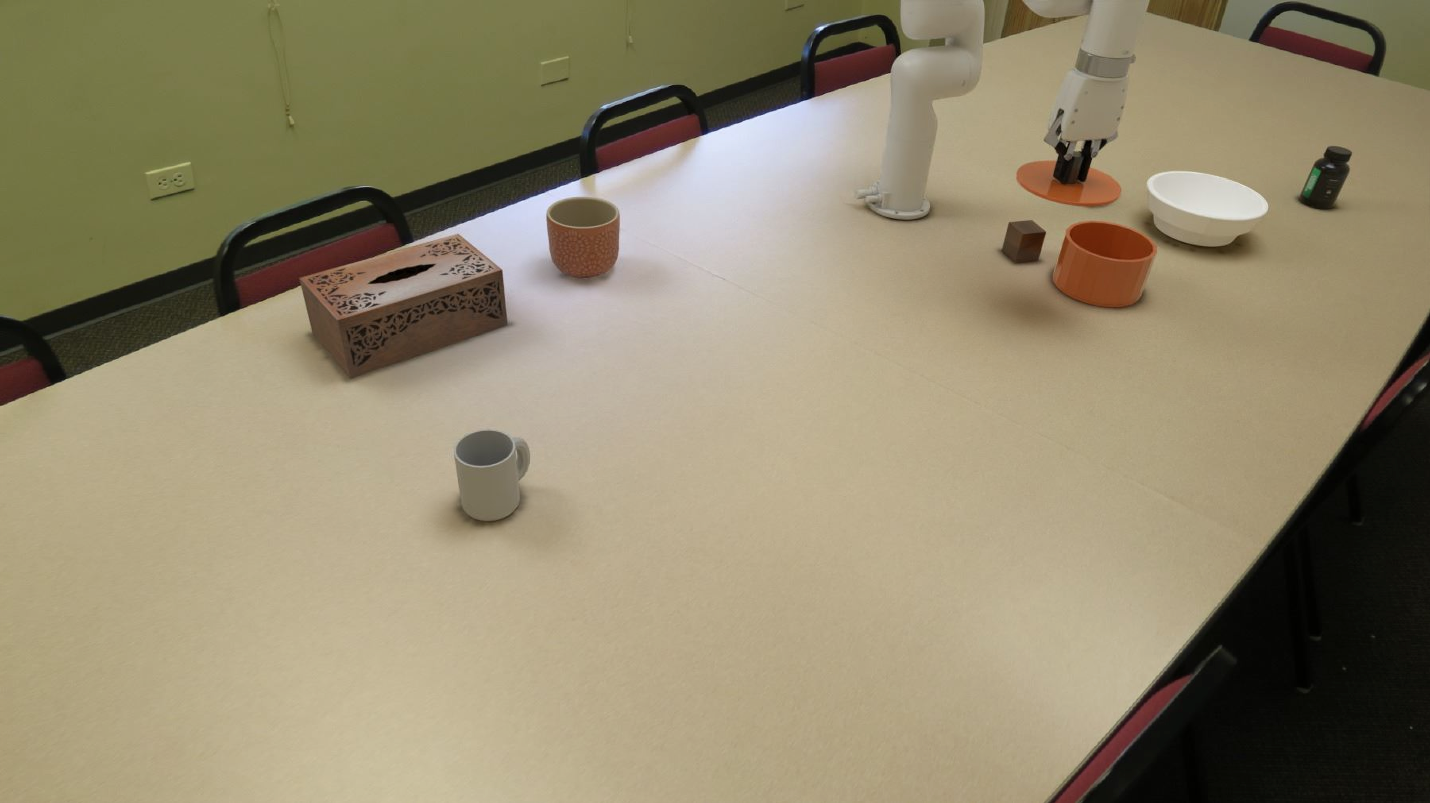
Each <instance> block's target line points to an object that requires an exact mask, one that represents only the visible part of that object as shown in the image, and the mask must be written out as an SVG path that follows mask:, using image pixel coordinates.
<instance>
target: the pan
mask: <svg viewBox="0 0 1430 803" xmlns="http://www.w3.org/2000/svg"><path fill="white" fill-rule="evenodd" d="M1157 254H1158V247H1157V245H1156V243H1155V242H1154V240H1152V238H1150V237H1149V236H1148V235H1146V234H1144V233H1143V232H1141V231H1139V230H1137V229H1134V228H1132V227H1129V226H1126V225H1123V224H1120V223H1115V222H1110V221H1102V220H1086V221H1085V220H1084V221H1078V222H1075V223H1072V224H1070V225H1069V226H1068V227H1067V228H1066V229H1065V232H1064V236H1063V238H1062V242H1061V246H1060V248H1059V252H1058V255H1057V258H1056V262H1055V266H1054V269H1053V272H1052V273H1053V274H1052V281H1053V283H1054V285H1055V286H1056V288H1057V289H1058V290H1060V291H1061V292H1062V293H1063V294H1064V295H1066V296H1068V297H1070V298H1072V299H1074V300H1077V301H1080V302H1082V303H1085V304H1088V305H1092V306H1097V307H1103V308H1122V307H1129V306H1131V305H1133V304H1135V303H1137V302H1138V301H1139V300H1140V298H1141V296H1142V294H1143V292H1144V289H1145V286H1146V284H1147V281H1148V278H1149V276H1150V273H1151V270H1152V267H1153V265H1154V262H1155V260H1156V256H1157Z"/></svg>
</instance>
